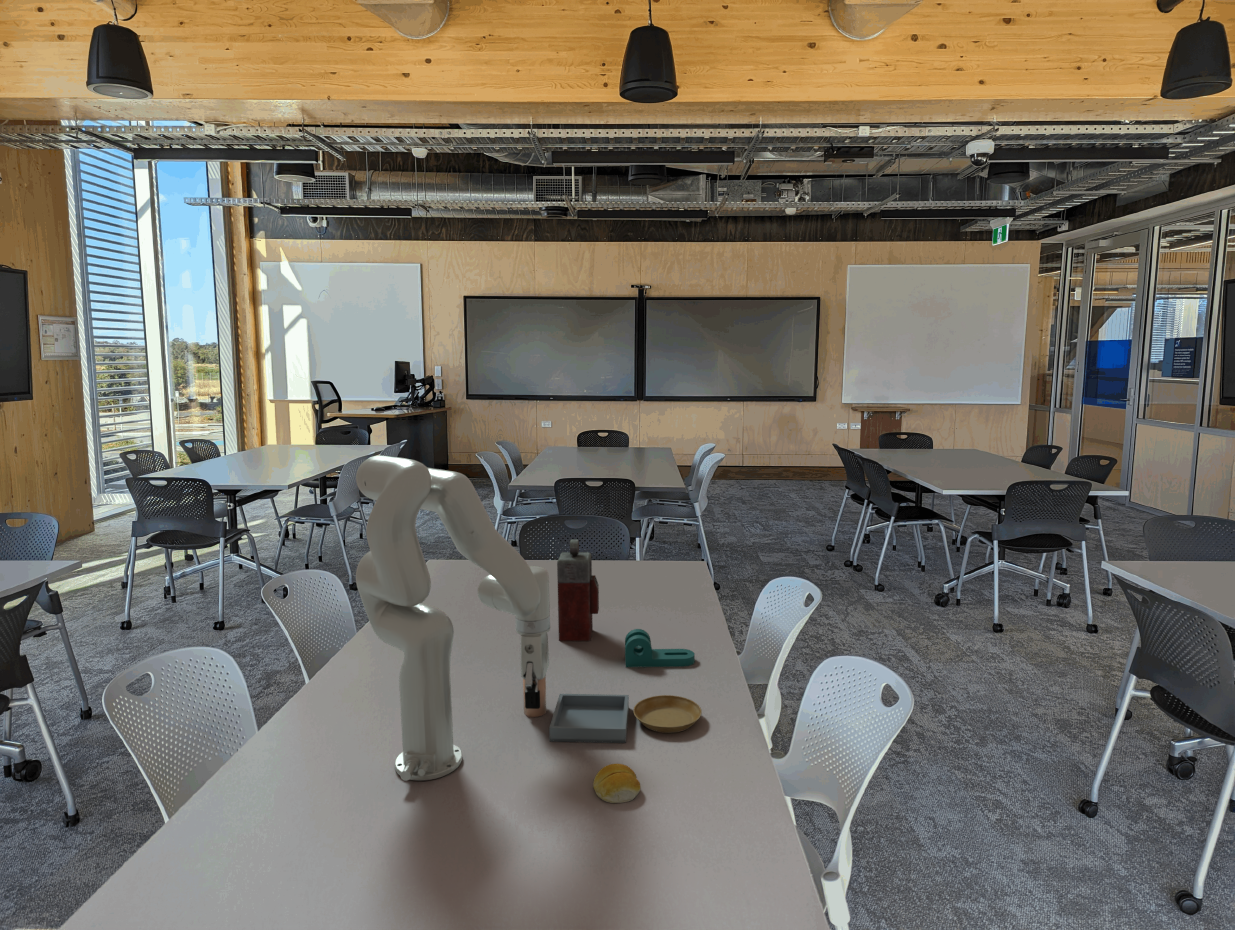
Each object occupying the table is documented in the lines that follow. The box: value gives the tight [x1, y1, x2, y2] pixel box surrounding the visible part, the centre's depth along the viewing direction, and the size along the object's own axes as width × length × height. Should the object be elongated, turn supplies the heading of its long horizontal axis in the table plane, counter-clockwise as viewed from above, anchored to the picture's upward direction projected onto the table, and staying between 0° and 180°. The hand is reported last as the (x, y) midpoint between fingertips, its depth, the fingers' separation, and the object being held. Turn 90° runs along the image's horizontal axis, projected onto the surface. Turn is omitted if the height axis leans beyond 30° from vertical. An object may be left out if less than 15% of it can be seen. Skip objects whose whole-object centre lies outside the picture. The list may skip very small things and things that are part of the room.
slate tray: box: [548, 693, 630, 744], centre depth 155 cm, size 16×16×3 cm
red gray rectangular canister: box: [556, 539, 600, 642], centre depth 206 cm, size 9×11×28 cm
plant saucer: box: [633, 694, 702, 734], centre depth 157 cm, size 15×15×3 cm
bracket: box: [624, 628, 696, 668], centre depth 188 cm, size 18×7×8 cm, turn 91°
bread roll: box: [592, 763, 641, 804], centre depth 131 cm, size 8×9×4 cm
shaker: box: [522, 673, 547, 718], centre depth 161 cm, size 5×5×10 cm
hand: (534, 701), depth 161 cm, fingers closed on shaker, 5 cm apart
